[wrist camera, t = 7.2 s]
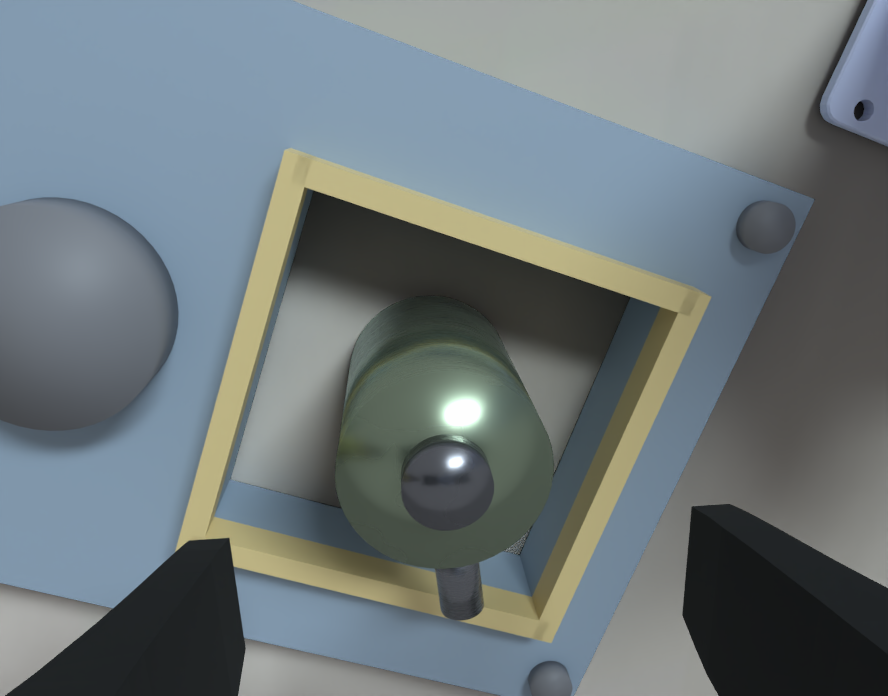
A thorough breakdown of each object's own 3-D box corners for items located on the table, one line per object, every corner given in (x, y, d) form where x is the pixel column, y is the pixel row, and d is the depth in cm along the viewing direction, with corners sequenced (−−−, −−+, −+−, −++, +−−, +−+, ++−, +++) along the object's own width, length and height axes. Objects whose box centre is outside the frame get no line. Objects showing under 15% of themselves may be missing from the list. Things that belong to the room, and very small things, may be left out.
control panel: (772, 190, 19) (853, 207, 16) (552, 662, 23) (579, 752, 20) (-13, -107, 16) (-120, -165, 12) (-101, 507, 20) (-198, 585, 17)
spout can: (499, 285, 19) (552, 368, 13) (518, 480, 21) (572, 633, 15) (338, 307, 19) (314, 400, 13) (371, 501, 21) (364, 665, 15)
